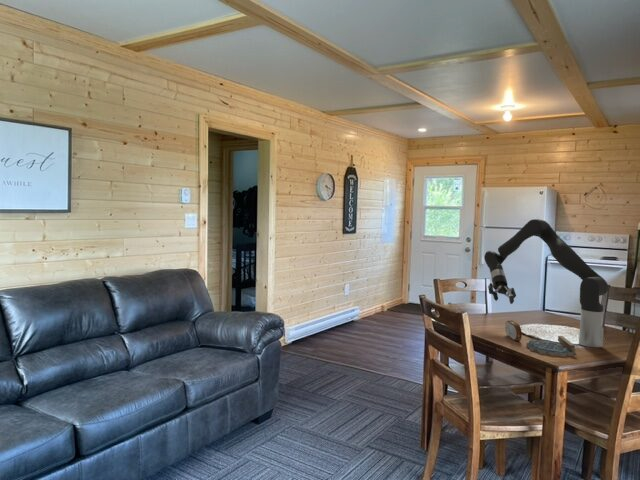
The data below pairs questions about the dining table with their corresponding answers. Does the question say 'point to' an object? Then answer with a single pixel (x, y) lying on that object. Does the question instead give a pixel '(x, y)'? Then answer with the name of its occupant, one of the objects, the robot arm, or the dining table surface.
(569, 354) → the decorative tile
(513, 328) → the tin
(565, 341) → the walnut stop strip
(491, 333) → the dining table surface
